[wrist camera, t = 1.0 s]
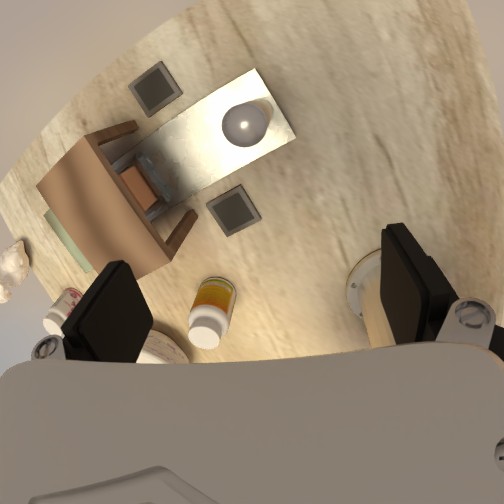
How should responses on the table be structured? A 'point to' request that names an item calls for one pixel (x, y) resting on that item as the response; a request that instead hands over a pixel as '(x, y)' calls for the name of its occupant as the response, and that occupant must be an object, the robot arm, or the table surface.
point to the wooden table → (123, 197)
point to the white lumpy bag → (12, 269)
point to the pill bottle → (61, 311)
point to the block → (138, 187)
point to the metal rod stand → (208, 141)
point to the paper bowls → (161, 350)
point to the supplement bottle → (211, 313)
